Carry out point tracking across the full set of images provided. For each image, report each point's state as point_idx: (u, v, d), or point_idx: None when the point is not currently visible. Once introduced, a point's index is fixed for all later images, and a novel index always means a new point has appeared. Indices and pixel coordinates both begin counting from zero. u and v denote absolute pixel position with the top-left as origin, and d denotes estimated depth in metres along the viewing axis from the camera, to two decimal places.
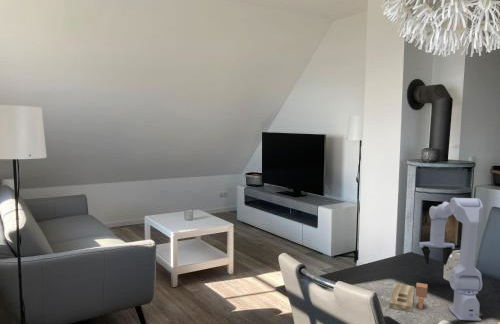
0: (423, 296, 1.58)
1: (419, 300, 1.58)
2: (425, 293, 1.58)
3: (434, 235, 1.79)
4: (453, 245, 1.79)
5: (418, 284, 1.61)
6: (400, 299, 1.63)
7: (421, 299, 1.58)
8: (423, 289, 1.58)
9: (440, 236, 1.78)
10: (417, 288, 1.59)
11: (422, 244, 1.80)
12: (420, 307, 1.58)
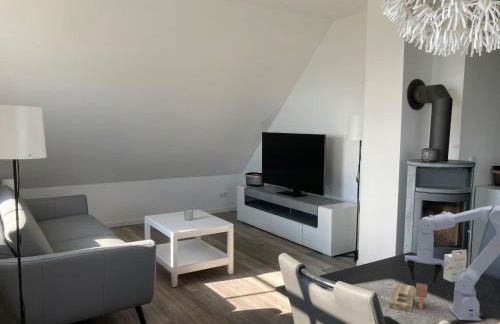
0: (423, 296, 1.58)
1: (419, 300, 1.58)
2: (425, 293, 1.58)
3: (419, 249, 1.60)
4: (443, 262, 1.58)
5: (418, 284, 1.61)
6: (400, 299, 1.63)
7: (421, 299, 1.58)
8: (423, 289, 1.58)
9: (425, 251, 1.58)
10: (417, 288, 1.59)
11: (406, 258, 1.63)
12: (420, 307, 1.58)
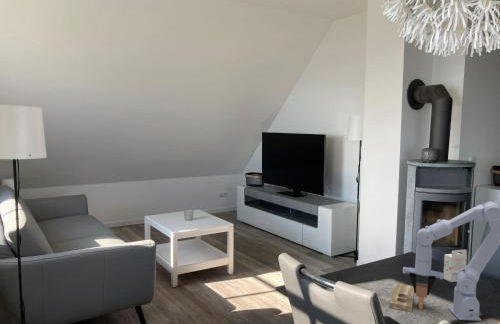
0: (423, 296, 1.58)
1: (419, 300, 1.58)
2: (425, 293, 1.58)
3: (417, 261, 1.58)
4: (441, 275, 1.56)
5: (418, 284, 1.61)
6: (400, 299, 1.63)
7: (421, 299, 1.58)
8: (423, 289, 1.58)
9: (423, 263, 1.57)
10: (417, 288, 1.59)
11: (404, 269, 1.61)
12: (420, 307, 1.58)
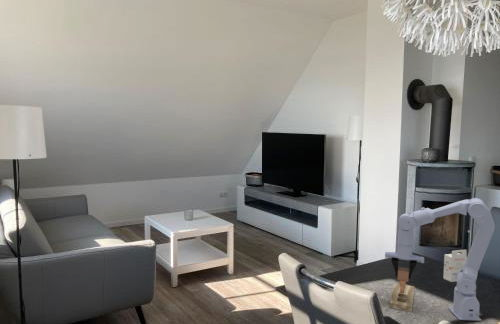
0: (405, 280, 1.61)
1: (401, 284, 1.60)
2: (406, 277, 1.60)
3: (399, 245, 1.61)
4: (422, 259, 1.58)
5: (400, 268, 1.63)
6: (400, 299, 1.63)
7: (403, 283, 1.60)
8: (405, 273, 1.61)
9: (405, 247, 1.59)
10: (399, 272, 1.61)
11: (386, 254, 1.64)
12: (402, 291, 1.60)
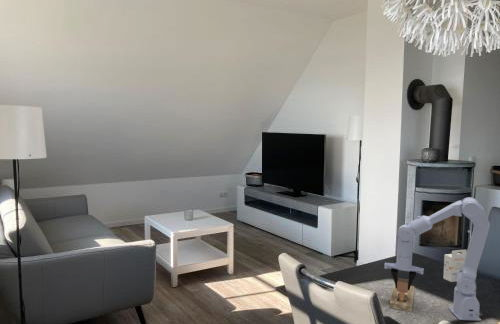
0: (404, 291, 1.61)
1: (400, 295, 1.61)
2: (406, 288, 1.61)
3: (398, 257, 1.61)
4: (422, 270, 1.59)
5: (399, 279, 1.64)
6: None
7: (402, 294, 1.60)
8: (404, 284, 1.61)
9: (404, 258, 1.59)
10: (398, 283, 1.62)
11: (386, 265, 1.64)
12: None
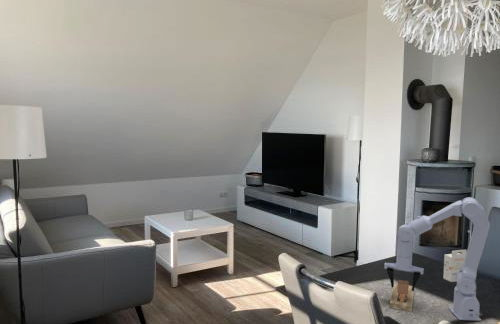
0: (404, 293, 1.61)
1: (400, 297, 1.61)
2: (406, 290, 1.61)
3: (398, 257, 1.61)
4: (422, 270, 1.59)
5: (400, 281, 1.64)
6: None
7: (402, 296, 1.60)
8: (405, 286, 1.61)
9: (404, 258, 1.59)
10: (398, 285, 1.62)
11: (386, 265, 1.64)
12: None
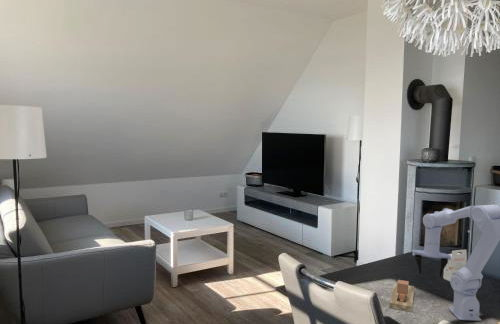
0: (404, 293, 1.61)
1: (400, 297, 1.61)
2: (406, 290, 1.61)
3: (426, 243, 1.68)
4: (449, 256, 1.65)
5: (399, 281, 1.64)
6: None
7: (402, 296, 1.60)
8: (404, 286, 1.61)
9: (432, 245, 1.66)
10: (398, 285, 1.62)
11: (414, 252, 1.71)
12: None
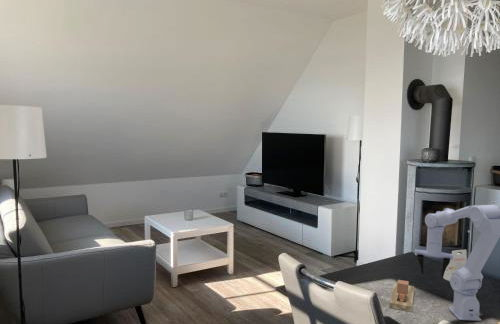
0: (404, 293, 1.61)
1: (400, 297, 1.61)
2: (406, 290, 1.61)
3: (428, 243, 1.68)
4: (451, 256, 1.66)
5: (399, 281, 1.64)
6: None
7: (402, 296, 1.60)
8: (404, 286, 1.61)
9: (434, 245, 1.66)
10: (398, 285, 1.62)
11: (416, 252, 1.71)
12: None
